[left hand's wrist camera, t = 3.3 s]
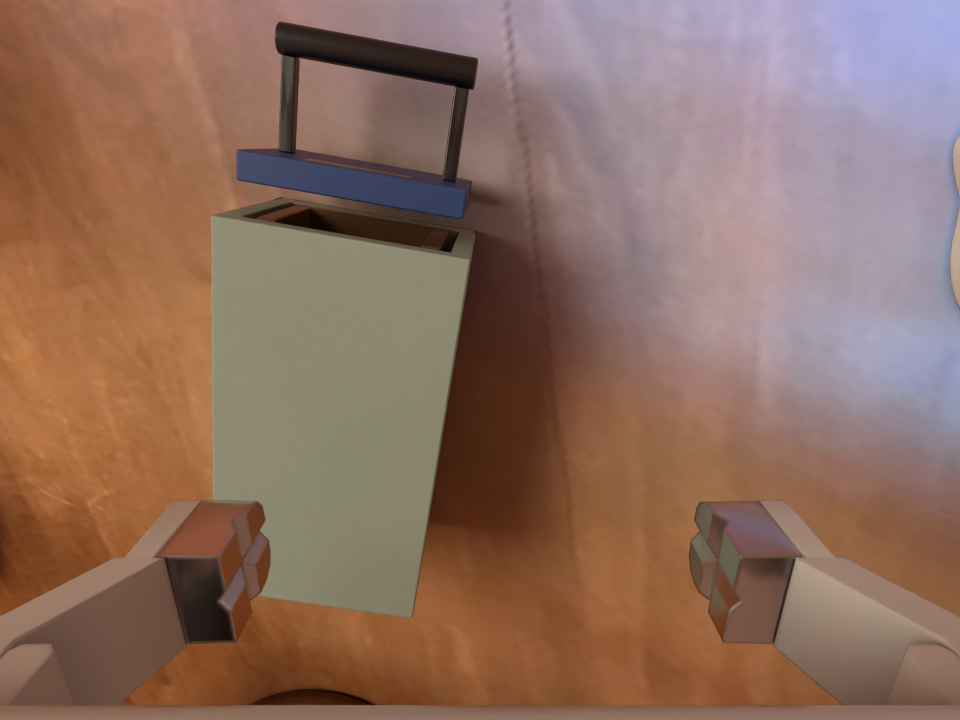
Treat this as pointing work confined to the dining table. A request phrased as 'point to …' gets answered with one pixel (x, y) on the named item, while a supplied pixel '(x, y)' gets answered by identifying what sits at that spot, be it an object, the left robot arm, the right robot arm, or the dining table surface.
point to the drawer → (359, 176)
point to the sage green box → (333, 398)
